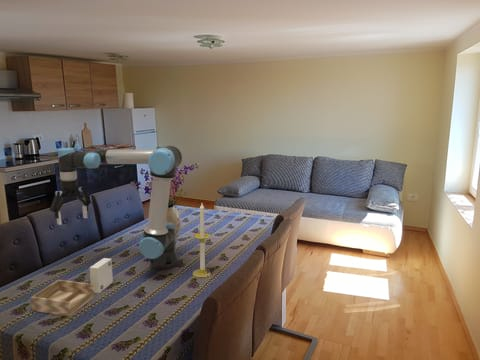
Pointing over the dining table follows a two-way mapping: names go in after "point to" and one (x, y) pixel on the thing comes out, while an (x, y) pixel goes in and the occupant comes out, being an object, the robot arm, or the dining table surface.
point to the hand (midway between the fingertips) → (72, 221)
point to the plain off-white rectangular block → (101, 274)
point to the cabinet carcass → (62, 297)
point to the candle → (201, 246)
